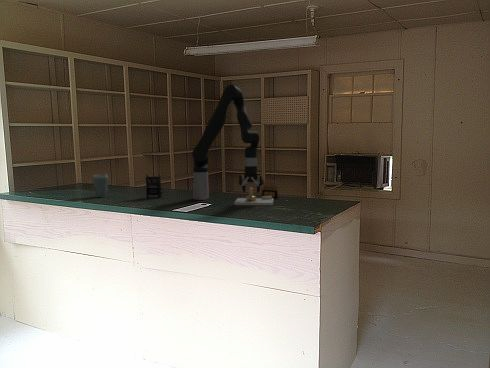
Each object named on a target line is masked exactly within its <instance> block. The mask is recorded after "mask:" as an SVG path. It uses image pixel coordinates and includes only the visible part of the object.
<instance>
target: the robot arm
mask: <svg viewBox="0 0 490 368" xmlns="http://www.w3.org/2000/svg"><path fill="white" fill-rule="evenodd" d="M243 94H244V93H243V91H242V90H241V89H240V88H239V87H237V86H236V85H235V84H232V83H230V84H228V85H226V86H225V87H224V89H223V91H222V94H221V97H220V99H219V101H218V103H217V105H216V107H215V109H214V111H213V113H212V115H211V117H210V119H209V120H208V122H207V124H206V126H205V128H204V130H203V133H202V135H201V138H200V140H199V141H198V142H197V144H196V146H195V147H194V148H193V150H192V152H191V156H192V158H193V167H192V168H193V169H192V170H193V173H192V174H193V184H192V198H193V200H197V201H203V200H205V201H206V200H208V199H209V198H210V195H209V150H210V149H211V146H212V144H213V143H214V141H215V140H216V139H217V137H218V136H219V134H220V132H221V131H222V130H223V128H224V126H225V123H226V121H227V112H228V107H229V105H230V103H232V104H233V105H234V107H235V109H236V118H237V120H236V121H237V122H238V125H239V128H240V138H241V141H242V142H243V143H245V144H250V145H249V146H248V147H245V148H244V164H243V165H244V166H243V167H244V174H239V178H238V179H239V180H238V184H239V185H240V186H241V187H242V188H241V189H242V190H241V191H242V193H246V184H247V183H254V184H255V186H256V193H259V192H261V186H262V185H263V179H264V178H263V174H260V175H258V158H257V157H258V156H257V152H258V151H257V150H258V146H259V143H260V134H259V132H258V131H257V130H256V131H255V130H250V129H252V128H253V124H252V121H251V119H250V116H249V114H248V111H247V107H246V104H245V100H244V95H243ZM258 179H259V180H258ZM209 200H210V199H209Z"/></svg>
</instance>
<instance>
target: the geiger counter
mask: <svg viewBox="0 0 490 368" xmlns="http://www.w3.org/2000/svg"><path fill="white" fill-rule="evenodd" d="M145 189H146V190H145V191H146V198H147V199H162V194H163V191H162V190H163V188H162V177H161V175H160V174H158V176H149V175H148V174H146V176H145Z"/></svg>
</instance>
